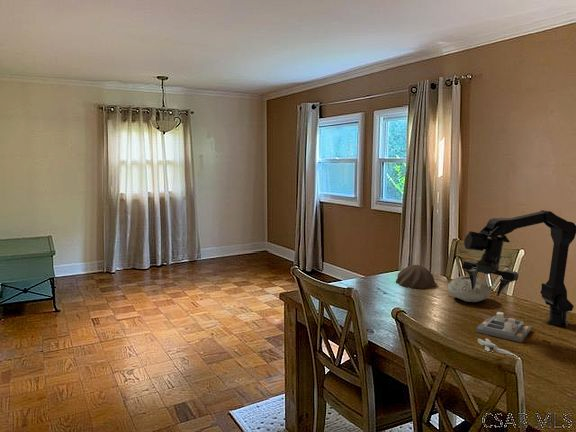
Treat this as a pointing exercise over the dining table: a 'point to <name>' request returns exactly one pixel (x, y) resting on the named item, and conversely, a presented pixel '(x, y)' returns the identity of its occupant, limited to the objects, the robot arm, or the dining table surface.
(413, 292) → the dining table surface
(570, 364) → the dining table surface
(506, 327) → the tab
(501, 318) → the tab
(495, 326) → the switch bank
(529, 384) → the dining table surface
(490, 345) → the pliers
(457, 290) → the grey rounded stone
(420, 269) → the decorative dome
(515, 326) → the tab
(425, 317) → the dining table surface
